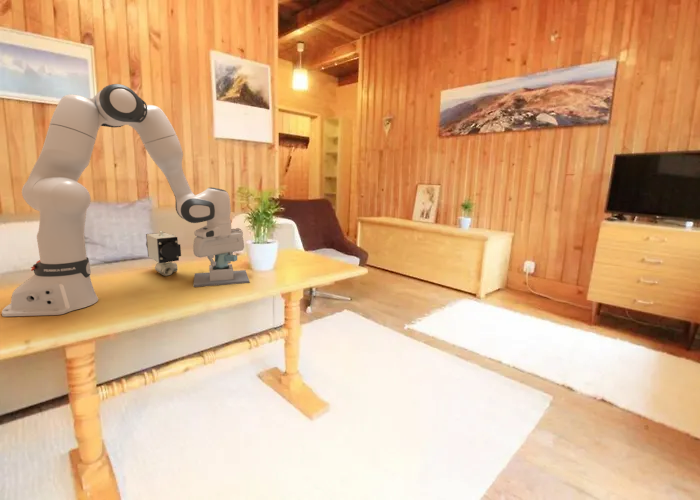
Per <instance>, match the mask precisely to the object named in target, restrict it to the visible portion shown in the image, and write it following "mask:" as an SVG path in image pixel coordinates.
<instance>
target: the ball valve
mask: <svg viewBox="0 0 700 500" xmlns="http://www.w3.org/2000/svg"><path fill="white" fill-rule="evenodd" d="M145 235H146V236H145V237H146V243H145V246H146V249H147V257H148V258H150V259H151V260H152V261H156V264H155V265H154V266H155V267H154V270H155V271H156V272H157V273H159V274H161V275H162V276H164V277H168V276H170V275H172V274H173V273H175V272H177V271H178V264H177V261H180V260H179V259H180V258H179V257H181V256H182V250H181V249H182V248H181V244H180V243H179V240H178V236H176V235H174V234H170V233H168V232H164V231H163V230H160V231H159V232H154V233H146V234H145Z"/></svg>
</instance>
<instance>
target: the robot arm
mask: <svg viewBox="0 0 700 500" xmlns="http://www.w3.org/2000/svg"><path fill="white" fill-rule="evenodd" d="M126 125H127V126H129V127H131V128H132V129H133V130H134V131H136V133H137V134H138V135H139V137H140V140H141V142H142V144H143V146H144V149H145V150H146V152H147V153H148V155H149V156H150V158H151V159H152V161H153V162H154V164H155V165H156V166H157V167H158V168H159V169H160V170H161V172H162V174H163V175H164V176H165V178H166V180H167V183H168V184H169V186H170V189H171V191H172V193H173V196H174V199H175V211H176V213H177V215H178V217H180V218H181V219H183V220H185V221H187V222H188V223H191V224H199V223H204V222H206V225H204V226H203V227H200V228H199V229H198V228H197V229H196V230H194V236H195V237H194V240H193V244H192V245H193V247H192V249H193V254H194V256H195V257H196V258H207V259H208V261H209V262H210V265H211V266H212V267H213V266H217V264H216V261H215V255H218V254H224V253H228V254H230V255H234V253H236V252H241V251H243V250H244V249H245V242H244V236H243V235H244V233H243V232H244V231H243V230H242V229H241V228H239V227H237V228H232V220H231V212H232V211H231V208H232V207H231V199H230V195H229V193H228V191H226V190H224V189H221V188H216V187H207V188H206V189H205V190H203V191H202V192H199V193H198V194H194V192H193V191H192V189H191V187H190V185H189V182H188V180H187V177H186V175H185V173H184V170H183V157H184V153H183V149H182V144H181V142H180V139H179V136H178V135H177V133H176V131H175V129H174V126H173V125H172V123H171V121H170V120H169V117H167V115H166V113H165V112H164V111H163V110H162V108H160V107H159V106H157V105H154V104H147V103H146V102H145V100H144V99H142V98H141V97H139V95H138V94H137V93H136V92H135V91H134V90H133V89H132V88H130V87H128V86H126V85H124V84H120V83H111V84H108V85H106V86H104V87H103V88H102V89H101V90H99V91H98V92H97V93H96V95H94V97H92V98H88V97H85V96H82V95H79V94H71V93H70V94H66V95H64V96H63V97H61V99H60V100H59V101H58V103H57V106H56V107H55V109H54V111H53V113H52V116H51V119H50V122H49V126H48V129H47V132H46V135H45V139H44V143H43V146H42V149H41V151H40V154H39V156H38V158H37V160H36V162H35V164H34V165H33V166H32V167H33V168H32V169H31V171H30V174H29V176H28V178H27V180H26V181H25V183H24V184H23V186H22V189H21V196H22V198H23V200H24V201H25V203H26V204H27V205H28V206H29V207H31V208H32V209H33V210H36V211H38V212H39V223H38V224H39V227H38V231H37V234H36V240H37V241H36V242H37V247H38V254H39V260H37V261H36V262H35V263H34V264H33V265H32V266H31V267H30V268H31V270H30V271H31V272H33V273H34V274H33V275H31V277H30V278H28V279H27V280H25V281H24V282H23V283H21V284H19V286H17V287H16V288H15V289H14V290H13V292H12V294H11V300H10V303H9V304H8V305H6V306H5V307H4V308H3V309H2V310H1V315H2V317H31V316H37V317H38V316H60V315H65V314H67V313H70V312H72V311H75V310H79V309H83V308H86V307H87V308H88V307H90V306H92V305H94V304H96V303H97V302H98V301H99V297H98V295H97V294H96V292H95V289H94V286H93V283H92V279H91V270H92V269H91V264H90V260H89V257H87V247H86V241H85V239H86V238H85V226H86V218H87V217H86V216H87V211H88V208H89V206H90V204H91V201H92V200H91V194H90V191H89V190H88V189H87V187H85V186H84V185H83V184H82V183H79V179H80V177H81V176H82V175H83V172H84V171H85V170H86V168H87V167H88V166H90V162H91V157H92V156H93V155H92V154H93V151H94V148H95V144H96V140H97V135H98V133H99V132H98V131H99V130H100V127H108V128H121V127H123V126H126ZM231 262H232V261H228V264H232V263H231Z"/></svg>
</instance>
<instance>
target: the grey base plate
mask: <svg viewBox="0 0 700 500" xmlns="http://www.w3.org/2000/svg"><path fill="white" fill-rule="evenodd" d="M208 267H209V268H208V269H209V270H208V271H209V272H198V273H197V272H196V273H194V277H193V285H192V286H193V288H196V287H197V288H199V287H200V288H201V287H210V286H211V287H212V286H213V287H214V286H226V285H236V284H237V285H239V284H250V278H249V276H248V274H247V271H246V269H242V270H234V267H233V264H232V263H229V264H228V269H219V270H215V266H213V267H212V266H211V264H209V266H208Z"/></svg>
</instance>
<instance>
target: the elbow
mask: <svg viewBox="0 0 700 500" xmlns="http://www.w3.org/2000/svg"><path fill="white" fill-rule="evenodd" d="M214 261H216V264H217V266H215V270H219V269H228V261H231V262H237V261H238V255H237V254H233V255H230V254H228V253H224V254H218V255H214Z"/></svg>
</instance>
